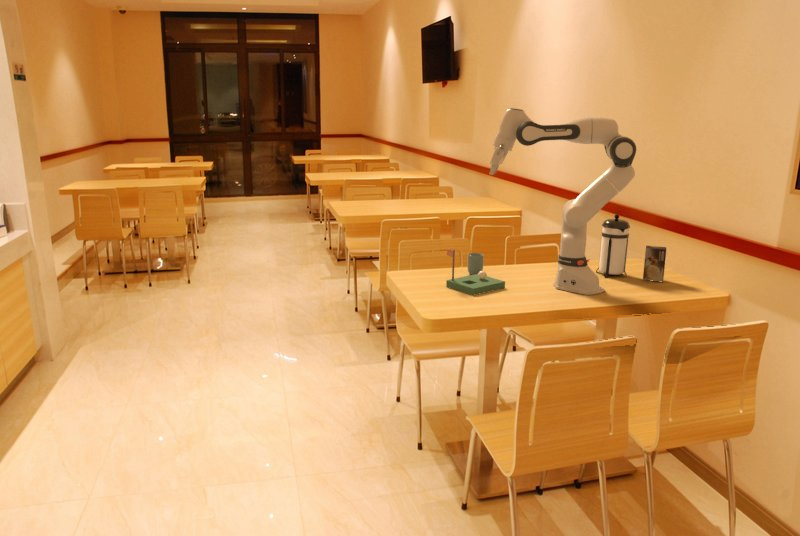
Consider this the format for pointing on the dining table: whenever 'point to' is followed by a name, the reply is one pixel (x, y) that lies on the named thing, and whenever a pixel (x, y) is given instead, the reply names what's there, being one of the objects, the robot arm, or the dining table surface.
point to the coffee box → (654, 263)
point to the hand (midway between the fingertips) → (492, 173)
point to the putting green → (472, 281)
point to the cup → (475, 263)
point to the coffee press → (614, 246)
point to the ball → (482, 275)
